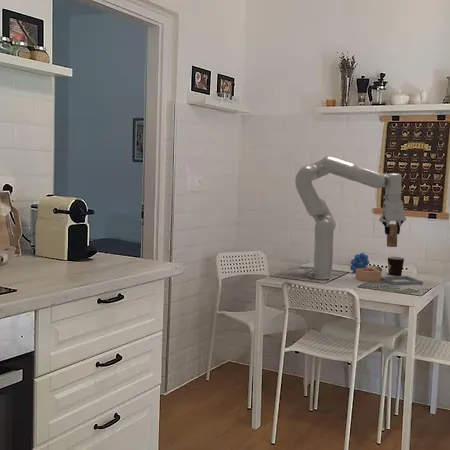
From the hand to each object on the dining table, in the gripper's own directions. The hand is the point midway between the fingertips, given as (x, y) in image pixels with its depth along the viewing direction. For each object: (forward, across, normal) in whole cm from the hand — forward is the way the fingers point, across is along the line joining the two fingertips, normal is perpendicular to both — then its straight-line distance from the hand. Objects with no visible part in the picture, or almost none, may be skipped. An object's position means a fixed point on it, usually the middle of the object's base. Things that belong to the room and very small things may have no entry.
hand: (392, 233), depth 313 cm
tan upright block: (+6, 0, 0) cm, 6 cm away
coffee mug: (+26, +12, +18) cm, 33 cm away
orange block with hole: (+25, -10, +6) cm, 27 cm away
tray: (+25, +4, -2) cm, 26 cm away
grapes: (+25, -6, +25) cm, 36 cm away
